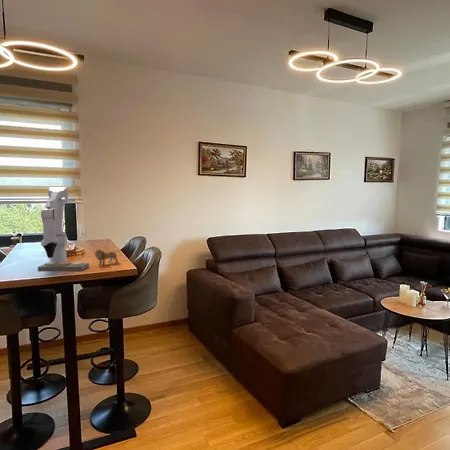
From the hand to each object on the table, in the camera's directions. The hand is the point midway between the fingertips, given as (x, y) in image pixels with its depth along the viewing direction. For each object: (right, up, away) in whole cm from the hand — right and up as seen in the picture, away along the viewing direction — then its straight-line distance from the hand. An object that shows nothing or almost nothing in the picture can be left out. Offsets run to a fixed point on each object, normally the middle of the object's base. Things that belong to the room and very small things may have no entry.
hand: (50, 257), depth 176 cm
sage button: (0, -5, 0) cm, 5 cm away
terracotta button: (+7, -6, +1) cm, 9 cm away
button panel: (+7, -6, +1) cm, 9 cm away
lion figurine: (+25, -5, +14) cm, 29 cm away
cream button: (+14, -6, +1) cm, 15 cm away
